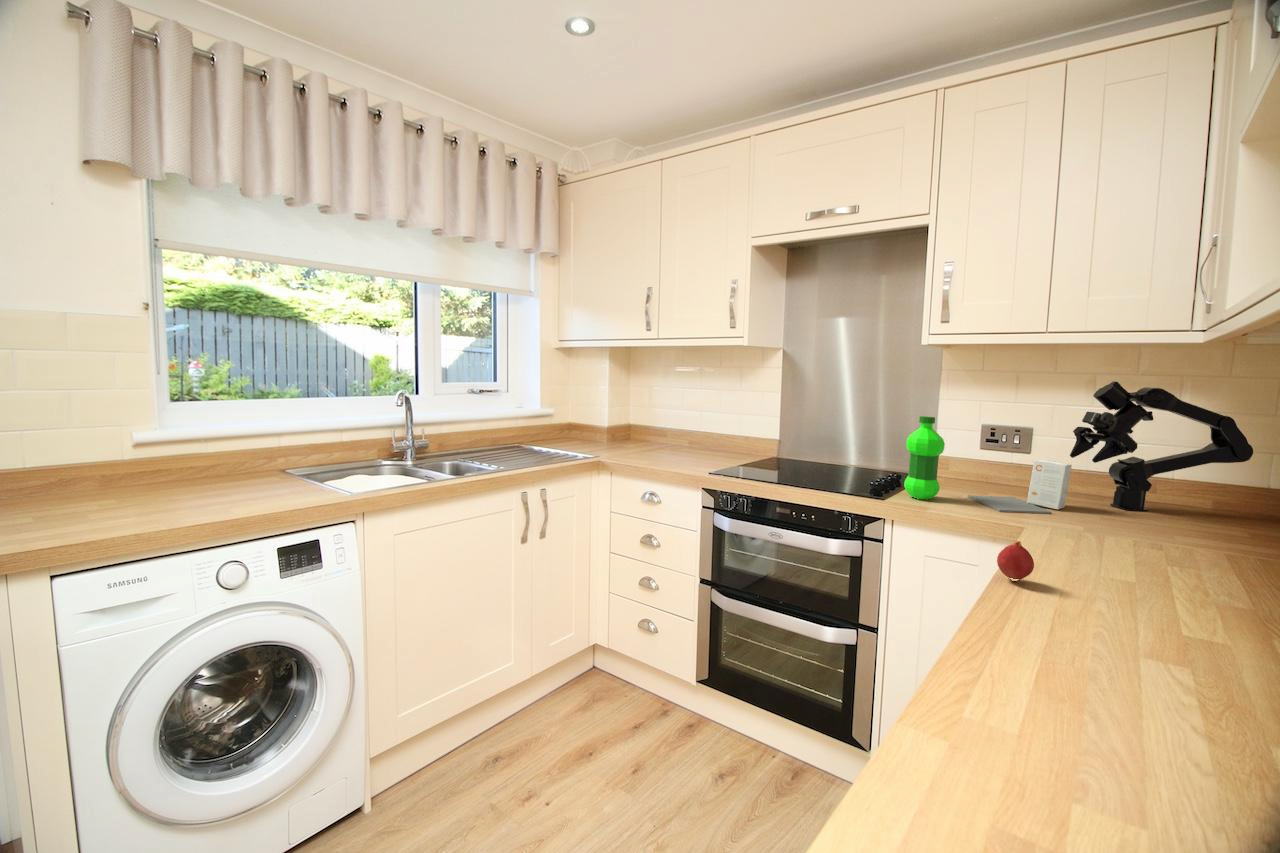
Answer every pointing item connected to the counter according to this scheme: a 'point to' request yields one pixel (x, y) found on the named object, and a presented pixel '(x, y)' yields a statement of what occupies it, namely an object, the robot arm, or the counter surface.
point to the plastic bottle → (924, 460)
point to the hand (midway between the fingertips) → (1081, 459)
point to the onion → (1015, 561)
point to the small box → (1049, 484)
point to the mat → (1008, 504)
